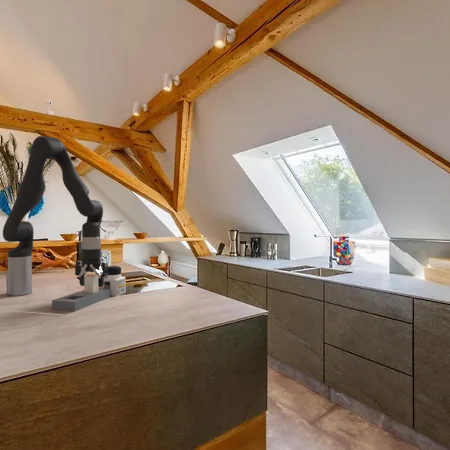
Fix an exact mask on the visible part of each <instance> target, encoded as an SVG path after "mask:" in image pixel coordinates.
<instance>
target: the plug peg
mask: <svg viewBox="0 0 450 450" xmlns="http://www.w3.org/2000/svg"><path fill="white" fill-rule="evenodd" d="M98 278H99V277H98V276H97V274H95V273H89V274H88V273H86V274H85V276H84V286H83V287H84V288H83V290H84V291H85V293H95V292H97V291H99V288H100V287H98Z"/></svg>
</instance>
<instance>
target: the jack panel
mask: <svg viewBox="0 0 450 450" xmlns="http://www.w3.org/2000/svg"><path fill="white" fill-rule="evenodd" d="M109 298H111V296H110V289H101V287H99V291H97V292H95V293H85V291H84V289H83V290H80V291H76V292H73V293H71V294H66V295H64V296H60V297H59V298H54V299H52V300H51V310H52V311H64V312H77V311H81V310H83V309H85V308H87V307H90V306H92V305H94V304H97V303H99V302H102V301H104V300H107V299H109Z"/></svg>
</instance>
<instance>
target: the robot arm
mask: <svg viewBox="0 0 450 450" xmlns="http://www.w3.org/2000/svg"><path fill="white" fill-rule="evenodd" d="M48 160H53V161H54V162H55V163H56V164H57V166H59V168H60V169H61V174H62V177H61V178H62V181H63V184H64V186H65V188H66V190H67V191H68V193H69V195H71V197H72V199H73V202H74V205H75V207H76V209H77V211H78V213H79V214H80V215H82V216H83V217H86V222H84V223H83V224H82V225H81V259H82V260H77V261H75V262H74V263H75V265H74V266H75V267H74V268H75V269H74V275H75V276H78V277H79V285H80V286H81V287H84V276H86V275H87V274H88V273H89V272H91V273H94V274H97V276H98V277H99V278H98V287H99V288H101V287H102V286H103V285H104V278H106V276H108V266H109V265H108V264H109V262H108V261H101V259H102V241H101V224H102V219H103V216H104V208H103V205H102V203H101V202H100V201H99V200H95V199H91V198H90V196H89V194H90V190H89V188H88V186H87V185H86V184H85V182H84V180H82V178H81V177H80V175H79V173H78V171H77V170H76V168H75V165H74V163H73V161H72V159H71V157H70V154H69V153H68V150H67V149H66V147H65V145H64V143H63V142H62V140H61V139H59V138H57V137H56V138H55V137H52V136H45V135H39V136H37V137H36V138H35V139H34V140H33V142H32V145H31V147H30V153H29V158H28V162H27V164H26V169H25V171H24V175H23V178H22V181H21V182H20V185H19V189H18V191H17V195H16V198H15V201H14V203H13V206H12V208H11V211H10V212H9V215H8V216H7V218H6V220H5V223H4V225H3V227H2V237H3V238H2V239H4V241H6V242H8V243H9V242H10V243H13V242H14V243H15V242H17V243H18V242H19V243H18V245H16V247H14V248H11V249H9V250H8V251H7V273H6V274H5V275H6V276H5V277H6V278H5V279H6V295H8V296H11V297H12V296H13V297H14V296H15V297H16V296H25V295H29V294H32V293H33V260H32V258H33V257H32V253H33V249H34V233H35V232H34V227H33V226H34V225H33V224H32V223H31V222H30V221H27V220H23V219H24V218H25V217H26V215H28V213H29V212H31V211H32V210H33V209H34V208H36V207H37V206H38V205H39V204H40V203H41V202H42V199H43V196H44V193H45V191H46V183H45V179H44V172H43V171H44V167H45V164H46V162H47V161H48Z"/></svg>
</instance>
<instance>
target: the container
mask: <svg viewBox="0 0 450 450" xmlns="http://www.w3.org/2000/svg"><path fill="white" fill-rule="evenodd" d="M126 280H127V279H126V276H122V266H120V265H108V276H105V277H104V285H103V286H102V287H100V289H110V297H118V296H120V295H121V296H122V295H123V294H125V293H126V292H127V291H126V285H127V284H126Z"/></svg>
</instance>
